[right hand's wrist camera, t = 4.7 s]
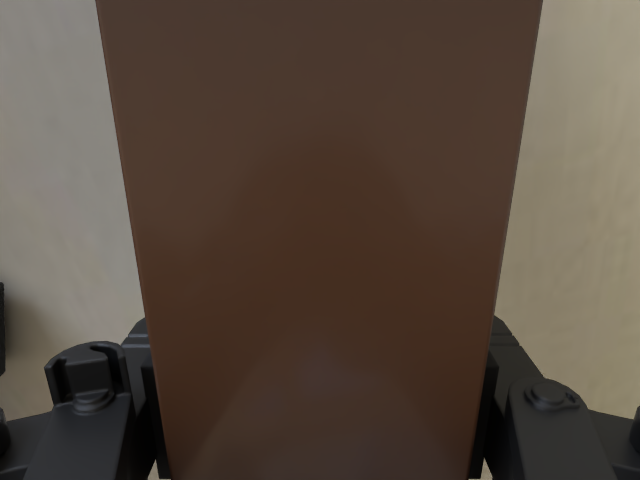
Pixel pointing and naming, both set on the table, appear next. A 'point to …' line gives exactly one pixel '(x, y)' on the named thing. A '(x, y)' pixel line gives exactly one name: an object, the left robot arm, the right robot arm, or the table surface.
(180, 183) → the beam
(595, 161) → the table surface
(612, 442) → the right robot arm
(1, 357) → the graphics card box
